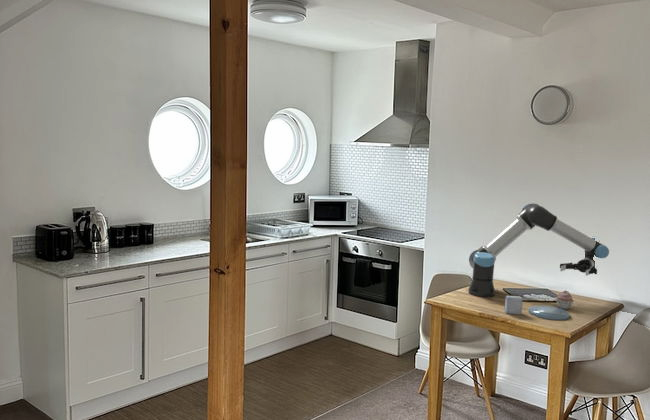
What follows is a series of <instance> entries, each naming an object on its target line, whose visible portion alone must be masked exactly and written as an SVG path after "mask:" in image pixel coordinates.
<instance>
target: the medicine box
mask: <svg viewBox="0 0 650 420" xmlns="http://www.w3.org/2000/svg"><path fill="white" fill-rule="evenodd" d="M504 303H505V304H504V313H505V314H509V315H510V314H511V315H522V310H523V298H522V296H520V295H519V296H517V295H505V302H504Z"/></svg>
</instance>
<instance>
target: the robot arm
mask: <svg viewBox="0 0 650 420" xmlns="http://www.w3.org/2000/svg"><path fill="white" fill-rule="evenodd" d="M535 226H536V227H539V228H541V229H543V230H545V231H547V232H550V231H551V232H552V233H554V234H556V235H558V236H559V237H561V238H562V239H564V240H566V241H569V242H571V243H573V244H574V245H576V246H577V247H579V248H581V249H583V250H584V252H585V258H584V257H583V258H582V259H581V260H579V261H577V263H573V262H567V263H566V262H565V263H560V264H559V268H560V272H564V271H566V270H574V271H575V270H577V271H579V272H581V273H584V274H585V276H589V275H593V274H594V275H598V269H597V267H596V268H595V261H594V260H593V257H594V255H595V256H596V257H598V259H606V258H607V257H608V256H609V254H610V249H609V248H608V246H607V245H605V244H603V243H601V242H600V241H599V242H600V243H599V242H597V241H595V238H590V237H588V235H586V234H585V233H583V232H581V231H579V230H578V229H576V228H574V227H572V226H570V225H569V224H567V223H565V222H563V221H562V220H560V219H558V216H556V215H555V214H553V213H551V212H550V211H549V210H548V209H547V208H545V207H544V206H541V205H539V204H538V203H528V204H526V205H524V206H523V207H522V209H521V211H520V212H519V213H518V214H517V215H516V219H515V220H514V221H513V222H512V223H511V224H509V225H508V226H507V227H506V228H505V229H504V230H503V231H501V232H500V233H499V234H498V235H496V237H494V239H492V240H491V241H490V242H489V243H487V245H482V246H481V247H479V248H478V249H476V250H473V251H472V252H471V253H470V254H469V256H468V262H469V266H470V267H471V268H472V278H471V279H472V280H471V282H470V285H469V287H468V294H469V295H471V296H476V297H482V298H485V297H487V298H491V297H495V296H496V289H495V286H494V274H495V273H494V271H495V263H496V261H497V256H499V255H500V254H501V253H502V252H503V251H504V250H505V249H507V247H509V246H510V245H511V244H512V243H514V242H515V241H516V240H517V239H518V238H519V237H520V236H521V235H523V234H524V233H525V232H526V231H529V230H530V231H531V230H533V229H534V228H536V227H535Z"/></svg>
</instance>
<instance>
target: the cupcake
mask: <svg viewBox="0 0 650 420" xmlns="http://www.w3.org/2000/svg"><path fill="white" fill-rule="evenodd" d="M555 300H556V303H557V308H560V309H563V310H570V309H571V307H572V305H573V302H574V301H575V300H573V296H572V295H571V293H570V292H569V291H567V290H562V292H559V293H558V295H557V296H556V297H555Z"/></svg>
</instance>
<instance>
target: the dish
mask: <svg viewBox="0 0 650 420" xmlns="http://www.w3.org/2000/svg"><path fill="white" fill-rule="evenodd" d="M528 313H529V314H530V315H532V316H534V317H537V318H540V319H545V320H551V321H564V320H568V319H569V318H570V313H569V311H567V310H566V309H561V308H558V307H555V306H549V305H533V306H530V307H528Z"/></svg>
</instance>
